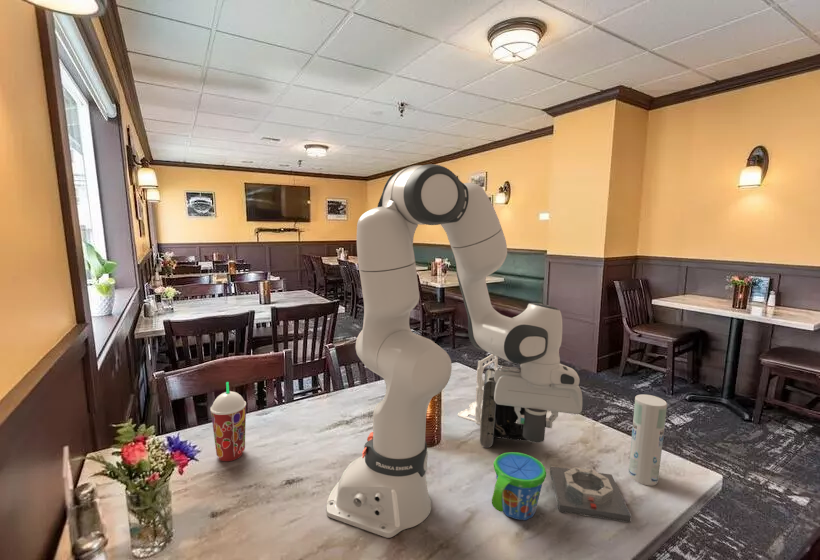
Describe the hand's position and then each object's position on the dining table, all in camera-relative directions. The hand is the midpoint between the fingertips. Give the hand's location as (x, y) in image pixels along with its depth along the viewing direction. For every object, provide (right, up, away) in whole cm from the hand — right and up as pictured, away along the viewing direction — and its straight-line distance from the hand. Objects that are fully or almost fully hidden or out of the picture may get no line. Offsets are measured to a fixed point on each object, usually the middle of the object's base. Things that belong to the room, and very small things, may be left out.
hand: (534, 425), depth 96 cm
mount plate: (+10, -14, -6) cm, 18 cm away
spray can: (+27, -13, 0) cm, 30 cm away
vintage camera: (-3, -11, +16) cm, 19 cm away
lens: (0, -3, 0) cm, 3 cm away
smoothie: (-77, -11, +7) cm, 78 cm away
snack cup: (-7, -14, -11) cm, 19 cm away
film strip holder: (-6, -9, +32) cm, 34 cm away
